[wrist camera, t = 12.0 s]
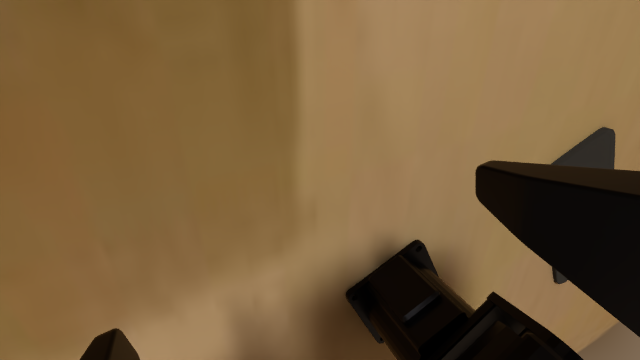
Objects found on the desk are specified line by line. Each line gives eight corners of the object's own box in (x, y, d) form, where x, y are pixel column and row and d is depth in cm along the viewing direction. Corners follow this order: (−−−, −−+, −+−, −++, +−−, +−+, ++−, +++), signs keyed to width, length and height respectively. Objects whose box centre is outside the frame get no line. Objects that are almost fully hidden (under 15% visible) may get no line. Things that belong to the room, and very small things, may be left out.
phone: (557, 288, 36) (546, 173, 28) (549, 283, 37) (537, 169, 29) (611, 245, 37) (616, 123, 29) (603, 241, 38) (606, 120, 30)
